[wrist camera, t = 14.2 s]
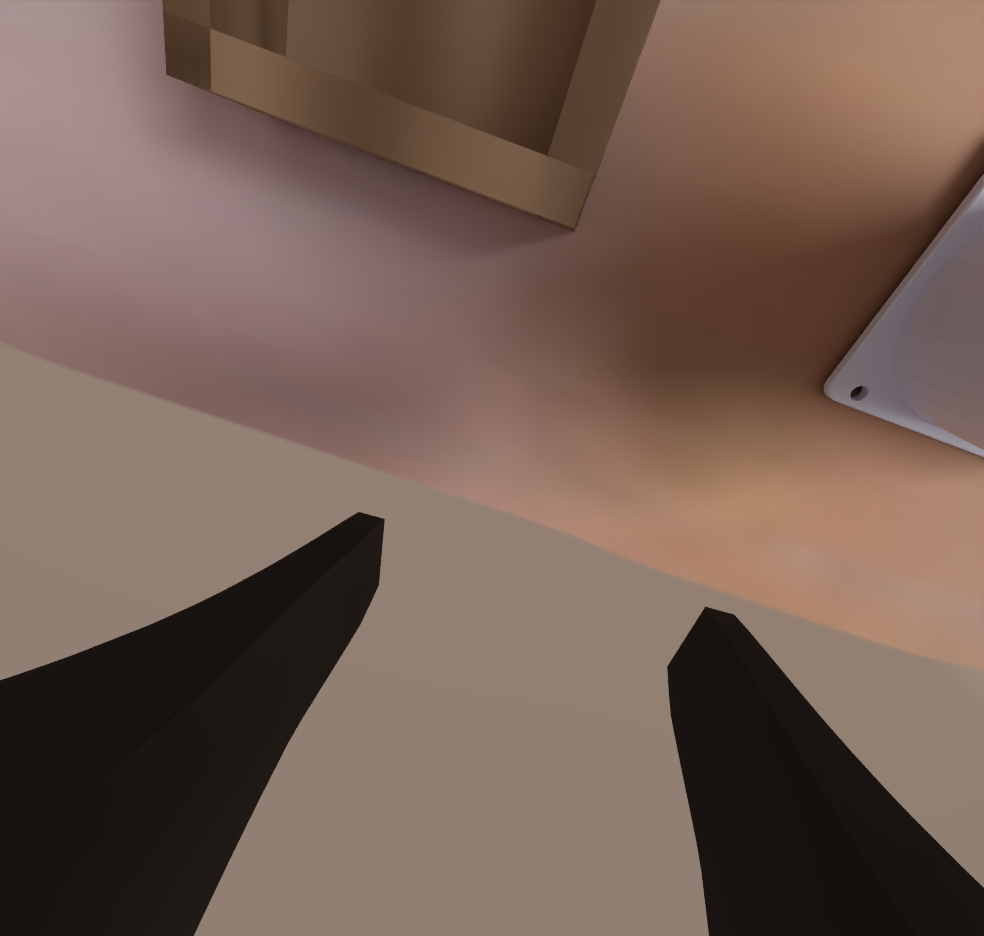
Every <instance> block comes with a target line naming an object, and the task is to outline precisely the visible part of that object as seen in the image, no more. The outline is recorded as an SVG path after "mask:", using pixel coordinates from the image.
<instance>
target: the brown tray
mask: <svg viewBox="0 0 984 936" xmlns="http://www.w3.org/2000/svg"><path fill="white" fill-rule="evenodd" d="M659 3H660V0H163V17H164V35H165V54H166V72H167V75H169V76H172V77H174V78H177V79H179V80H182V81H184V82H186V83H189V84H191V85H194V86H196V87H199V88H201V89H204V90H206V91H209V92H211V93H214V94H216V95H219V96H221V97H224V98H226V99H228V100H231V101H233V102H236V103H238V104H241V105H243V106H246V107H248V108H251V109H253V110H256V111H258V112H261V113H263V114H266V115H268V116H271V117H273V118H276V119H279V120H281V121H284V122H287V123H289V124H292V125H295V126H297V127H300V128H302V129H305V130H308V131H310V132H313V133H316V134H318V135H321V136H324V137H326V138H329V139H332V140H334V141H337V142H339V143H342V144H345V145H347V146H350V147H353V148H355V149H358V150H361V151H363V152H366V153H369V154H371V155H374V156H377V157H379V158H382V159H384V160H387V161H390V162H392V163H395V164H398V165H400V166H403V167H406V168H408V169H411V170H414V171H416V172H419V173H421V174H424V175H427V176H429V177H432V178H435V179H437V180H440V181H443V182H445V183H448V184H451V185H453V186H456V187H458V188H461V189H464V190H466V191H469V192H472V193H474V194H477V195H480V196H482V197H485V198H488V199H490V200H493V201H496V202H498V203H501V204H503V205H506V206H509V207H511V208H514V209H517V210H519V211H522V212H525V213H527V214H530V215H533V216H535V217H538V218H540V219H543V220H546V221H548V222H551V223H554V224H556V225H559V226H562V227H564V228H567V229H570V230H572V231H575V229H576V227H577V224H578V221H579V219H580V216H581V213H582V211H583V208H584V205H585V202H586V200H587V197H588V194H589V192H590V189H591V186H592V184H593V181H594V178H595V175H596V173H597V170H598V167H599V165H600V162H601V159H602V157H603V154H604V151H605V149H606V146H607V143H608V140H609V138H610V135H611V132H612V130H613V127H614V124H615V122H616V119H617V116H618V113H619V111H620V108H621V105H622V103H623V100H624V97H625V95H626V92H627V89H628V86H629V84H630V81H631V78H632V76H633V73H634V70H635V68H636V65H637V62H638V60H639V57H640V54H641V51H642V49H643V46H644V43H645V41H646V38H647V35H648V33H649V30H650V27H651V24H652V22H653V19H654V16H655V14H656V11H657V8H658V6H659Z"/></svg>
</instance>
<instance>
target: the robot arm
mask: <svg viewBox="0 0 984 936" xmlns="http://www.w3.org/2000/svg"><path fill="white" fill-rule="evenodd" d="M859 386H862V390H861V392H860V393H859V394H858V395H857V396H854V397H850V394H851V392H852V390H853V389H855V388H856V387H859ZM824 393H825V395H826V396H828V397H829V398H831V399H832V400H834V401H836V402H839V403H841V404H844V405H847V406H849V407H852V408H855V409H857V410H860V411H863V412H865V413H868V414H871V415H873V416H876V417H879V418H881V419H884V420H886V421H889V422H892V423H894V424H897V425H900V426H902V427H905V428H908V429H910V430H913V431H916V432H918V433H921V434H924V435H926V436H929V437H931V438H934V439H937V440H939V441H942V442H945V443H947V444H950V445H953V446H955V447H958V448H961V449H963V450H966V451H969V452H971V453H974V454H976V455H979V456H982V457H984V174H983V175H982V176H981V178H980V179H979V180H978V182H977V183H976V184H975V186H974V187H973V188H972V190H971V191H970V192H969V194H968V195H967V196H966V198H965V199H964V200H963V201H962V203H961V204H960V205H959V207H958V208H957V209H956V211H955V212H954V213H953V215H952V216H951V217H950V219H949V220H948V221H947V223H946V224H945V225H944V226H943V228H942V229H941V230H940V232H939V233H938V234H937V236H936V237H935V238H934V240H933V241H932V242H931V244H930V245H929V246H928V248H927V249H926V250H925V251H924V253H923V254H922V255H921V257H920V258H919V259H918V261H917V262H916V263H915V265H914V266H913V267H912V269H911V270H910V271H909V273H908V274H907V275H906V276H905V278H904V279H903V280H902V282H901V283H900V284H899V286H898V287H897V288H896V290H895V291H894V292H893V294H892V295H891V296H890V298H889V299H888V300H887V301H886V303H885V304H884V305H883V307H882V308H881V309H880V311H879V312H878V313H877V315H876V316H875V317H874V319H873V320H872V321H871V323H870V324H869V325H868V326H867V328H866V329H865V330H864V332H863V333H862V334H861V336H860V337H859V338H858V340H857V341H856V342H855V344H854V345H853V346H852V348H851V349H850V350H849V351H848V353H847V354H846V355H845V357H844V358H843V359H842V361H841V362H840V363H839V365H838V366H837V367H836V369H835V370H834V371H833V373H832V374H831V375H830V376H829V378H828V379H827V381H826V382H825V384H824ZM383 532H384V519H382V518H379V517H375V516H371V515H368V514H364V513H360V512H358V513H356V514H355V515H353V516H351V517H349V518H348V519H346V520H345V521H343V522H341V523H340V524H338V525H337V526H335V527H333V528H332V529H330V530H329V531H327V532H325V533H324V534H322V535H321V536H319V537H318V538H316V539H314V540H312V541H311V542H309V543H308V544H306V545H304V546H303V547H301V548H299V549H298V550H296V551H294V552H292V553H291V554H289V555H287V556H286V557H284V558H283V559H281V560H279V561H277V562H276V563H274V564H272V565H270V566H268V567H267V568H265V569H263V570H261V571H259V572H257V573H256V574H254V575H252V576H250V577H248V578H246V579H244V580H243V581H241V582H239V583H237V584H236V585H233V586H232V587H229V588H228V589H226V590H224V591H222V592H220V593H218V594H216V595H214V596H212V597H210V598H208V599H206V600H204V601H202V602H200V603H197V604H195V605H193V606H191V607H189V608H187V609H184V610H182V611H180V612H178V613H176V614H173V615H171V616H169V617H167V618H164V619H162V620H160V621H158V622H155V623H153V624H151V625H148V626H146V627H143V628H141V629H139V630H136V631H133V632H131V633H128V634H126V635H123V636H120V637H118V638H116V639H113V640H110V641H108V642H105V643H103V644H100V645H97V646H95V647H92V648H90V649H88V650H85V651H82V652H80V653H77V654H75V655H72V656H69V657H66V658H64V659H61V660H58V661H55V662H53V663H50V664H47V665H44V666H41V667H38V668H35V669H32V670H30V671H27V672H24V673H21V674H18V675H15V676H12V677H9V678H6V679H3V680H0V936H194V934H195V932H196V930H197V928H198V925H199V923H200V921H201V919H202V917H203V914H204V913H205V911H206V909H207V906H208V904H209V902H210V900H211V898H212V896H213V893H214V892H215V890H216V887H217V885H218V883H219V881H220V879H221V877H222V875H223V873H224V871H225V869H226V866H227V864H228V862H229V860H230V858H231V856H232V854H233V852H234V850H235V848H236V846H237V844H238V842H239V840H240V838H241V835H242V834H243V831H244V829H245V827H246V825H247V823H248V821H249V819H250V817H251V815H252V813H253V811H254V809H255V807H256V805H257V803H258V801H259V799H260V797H261V795H262V793H263V791H264V789H265V787H266V785H267V783H268V781H269V779H270V777H271V775H272V773H273V771H274V769H275V768H276V766H277V763H278V762H279V760H280V758H281V756H282V754H283V752H284V750H285V748H286V746H287V744H288V742H289V740H290V739H291V737H292V735H293V734H294V732H295V730H296V728H297V727H298V725H299V723H300V721H301V720H302V718H303V716H304V715H305V713H306V711H307V710H308V708H309V707H310V705H311V704H312V702H313V700H314V699H315V697H316V695H317V694H318V692H319V691H320V689H321V687H322V686H323V684H324V683H325V681H326V679H327V678H328V676H329V675H330V673H331V671H332V670H333V668H334V667H335V665H336V663H337V662H338V660H339V658H340V657H341V655H342V654H343V652H344V650H345V649H346V647H347V646H348V644H349V642H350V641H351V639H352V637H353V635H354V634H355V632H356V631H357V629H358V627H359V626H360V624H361V622H362V620H363V618H364V616H365V613H366V611H367V609H368V607H369V605H370V603H371V601H372V599H373V596H374V594H375V592H376V590H377V588H378V586H379V577H380V566H381V554H382V542H383ZM667 669H668V686H669V700H670V710H671V718H672V724H673V729H674V734H675V739H676V744H677V749H678V754H679V759H680V764H681V768H682V774H683V779H684V783H685V788H686V793H687V798H688V803H689V808H690V813H691V817H692V821H693V827H694V832H695V837H696V841H697V848H698V853H699V860H700V866H701V872H702V880H703V888H704V897H705V904H706V914H707V922H708V931H709V936H984V888H983V887H982V886H981V885H980V884H979V883H978V882H977V881H976V880H975V879H974V878H973V877H972V876H971V875H970V874H969V873H968V872H967V871H966V870H965V869H964V868H963V867H962V866H961V865H960V864H959V863H958V862H957V861H956V860H955V859H954V858H953V857H952V856H951V855H950V854H949V853H947V851H946V850H945V849H944V848H943V847H942V846H941V845H940V844H939V843H938V842H937V841H936V840H935V839H934V838H933V837H932V836H931V835H930V834H928V832H927V831H926V830H925V829H924V828H923V827H922V826H921V825H920V824H918V822H917V821H916V820H915V819H914V818H913V817H912V816H911V815H910V814H909V813H908V812H907V811H906V810H905V809H904V808H903V807H902V806H901V805H900V804H899V803H898V802H897V801H896V800H895V798H893V796H892V795H891V794H890V793H889V792H888V791H887V790H886V789H885V788H884V787H883V786H882V785H881V784H880V782H879V781H878V780H877V779H876V778H875V777H874V776H873V775H872V774H871V773H870V772H869V770H868V769H867V768H866V767H865V766H864V765H863V764H862V763H861V762H860V761H859V759H858V758H856V756H855V755H854V754H853V753H852V752H851V751H850V750H849V749H848V747H847V746H846V745H845V744H844V743H843V742H842V741H841V739H840V738H839V737H838V736H837V735H836V734H835V733H834V731H833V730H832V729H831V728H830V727H829V726H828V725H827V723H826V722H825V721H824V720H823V719H822V718H821V717H820V715H819V714H818V713H817V712H816V711H815V709H814V708H813V707H812V706H811V705H810V704H809V702H808V701H807V700H806V699H805V698H804V697H803V695H802V694H801V693H800V692H799V691H798V689H797V688H796V687H795V686H794V685H793V683H792V682H791V681H790V680H789V679H788V677H787V676H786V675H785V674H784V673H783V671H782V670H781V669H780V668H779V667H778V665H777V664H776V663H775V662H774V660H773V659H772V658H771V657H770V656H769V654H768V653H767V652H766V651H765V650H764V649H763V647H762V646H761V645H760V644H759V643H758V641H757V640H756V639H755V638H754V637H753V636H752V634H751V633H750V632H749V631H748V630H747V628H745V626H744V625H743V624H742V623H741V622H740V621H739V620H738V618H737V617H736V616H735V615H734V614H730V613H726V612H722V611H719V610H715V609H712V608H708V607H705V608H704V610H703V611H702V613H701V615H700V616H699V618H698V619H697V621H696V623H695V624H694V626H693V627H692V629H691V630H690V632H689V633H688V635H687V637H686V638H685V640H684V641H683V643H682V644H681V646H680V648H679V649H678V651H677V652H676V654H675V656H674V657H673V659H672V660H671V662H670V663H669V665H668V666H667Z"/></svg>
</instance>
